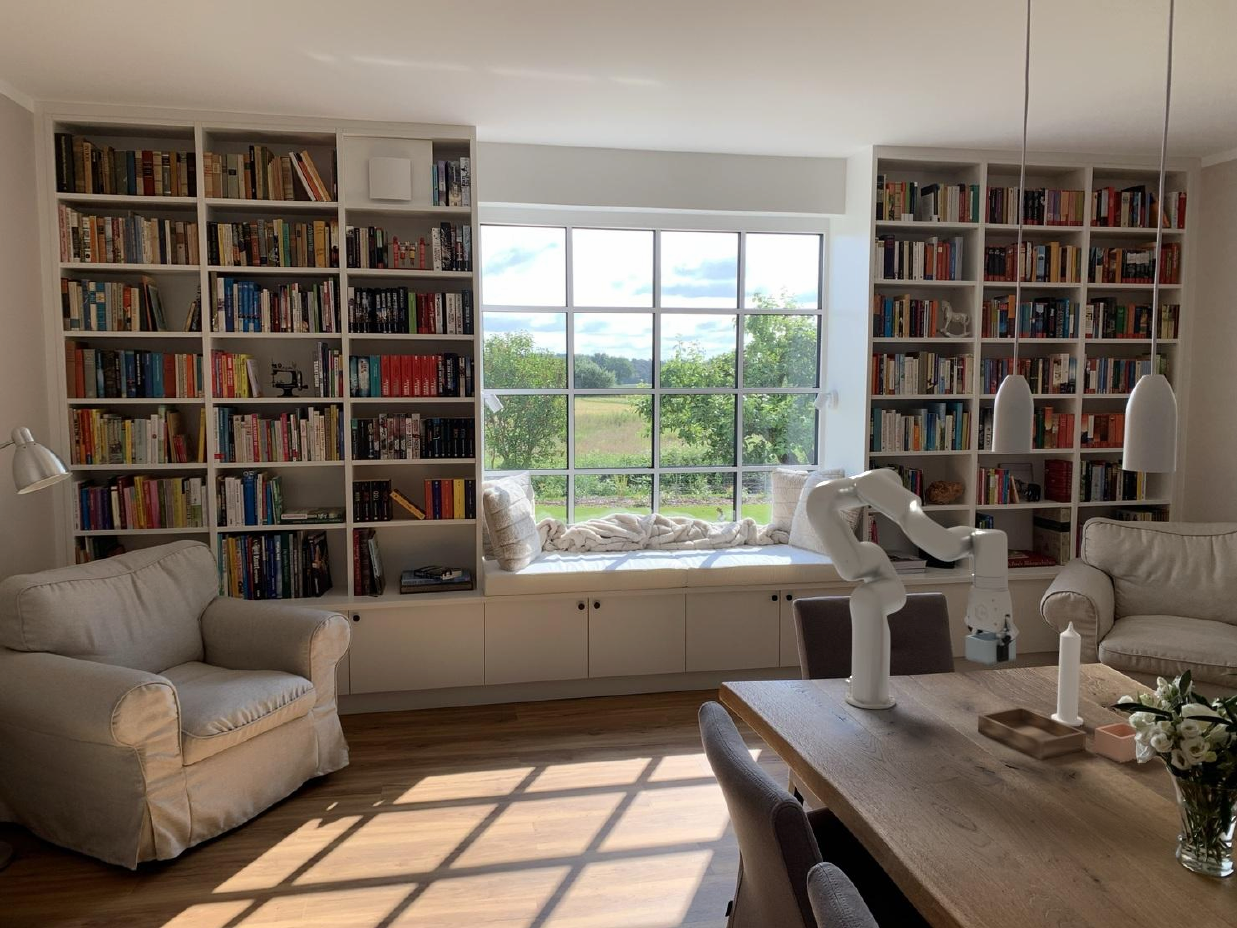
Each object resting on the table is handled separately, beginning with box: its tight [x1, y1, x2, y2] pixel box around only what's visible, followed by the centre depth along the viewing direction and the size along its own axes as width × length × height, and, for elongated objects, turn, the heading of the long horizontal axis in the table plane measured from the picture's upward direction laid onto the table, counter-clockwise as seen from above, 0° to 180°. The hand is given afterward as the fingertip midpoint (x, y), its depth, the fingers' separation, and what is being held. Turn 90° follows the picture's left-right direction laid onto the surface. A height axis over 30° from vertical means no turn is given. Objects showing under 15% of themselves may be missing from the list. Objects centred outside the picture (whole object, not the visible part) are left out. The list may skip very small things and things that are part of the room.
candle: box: [1050, 621, 1084, 727], centre depth 219 cm, size 7×7×25 cm
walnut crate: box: [977, 706, 1087, 761], centre depth 208 cm, size 18×14×4 cm
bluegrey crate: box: [964, 631, 1017, 666], centre depth 211 cm, size 6×9×6 cm
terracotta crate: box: [1093, 722, 1136, 764], centre depth 200 cm, size 6×9×6 cm
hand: (990, 656), depth 211 cm, fingers closed on bluegrey crate, 6 cm apart
